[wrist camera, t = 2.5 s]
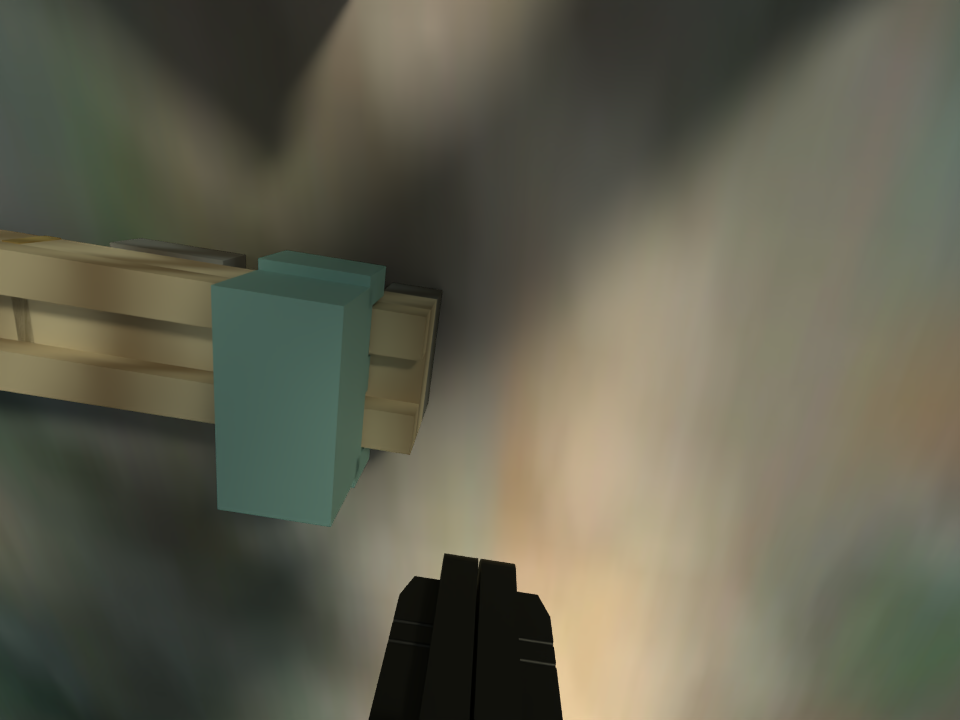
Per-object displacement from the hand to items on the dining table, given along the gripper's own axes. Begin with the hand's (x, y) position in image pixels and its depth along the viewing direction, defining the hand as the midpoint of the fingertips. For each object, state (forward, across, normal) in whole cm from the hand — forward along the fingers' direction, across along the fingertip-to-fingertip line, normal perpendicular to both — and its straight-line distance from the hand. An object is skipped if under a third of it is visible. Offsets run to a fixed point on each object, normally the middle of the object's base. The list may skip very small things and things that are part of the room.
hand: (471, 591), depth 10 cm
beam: (+15, +15, 0) cm, 21 cm away
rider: (+12, +7, 0) cm, 13 cm away
